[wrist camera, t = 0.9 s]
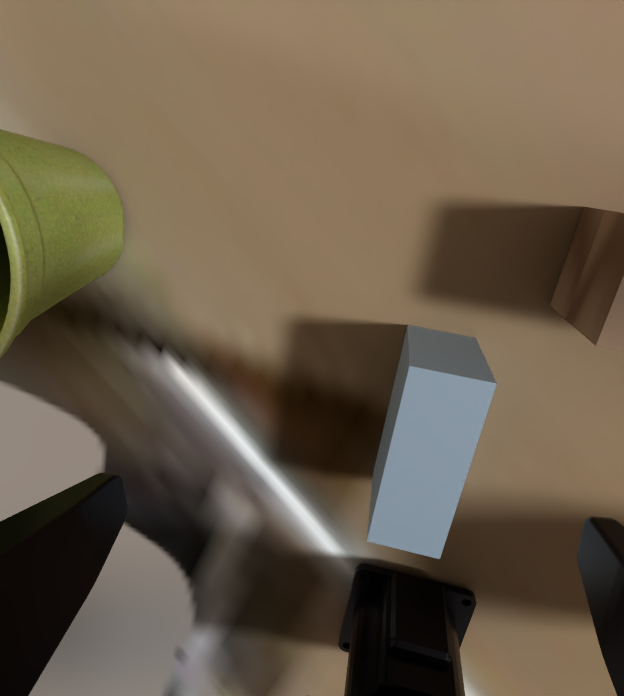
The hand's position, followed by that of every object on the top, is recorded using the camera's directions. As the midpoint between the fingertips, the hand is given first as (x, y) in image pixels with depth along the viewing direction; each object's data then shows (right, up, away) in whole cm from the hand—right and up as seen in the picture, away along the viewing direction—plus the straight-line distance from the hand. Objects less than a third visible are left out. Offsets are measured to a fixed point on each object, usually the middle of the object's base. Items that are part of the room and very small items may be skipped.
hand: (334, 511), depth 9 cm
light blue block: (+5, 0, +13) cm, 14 cm away
